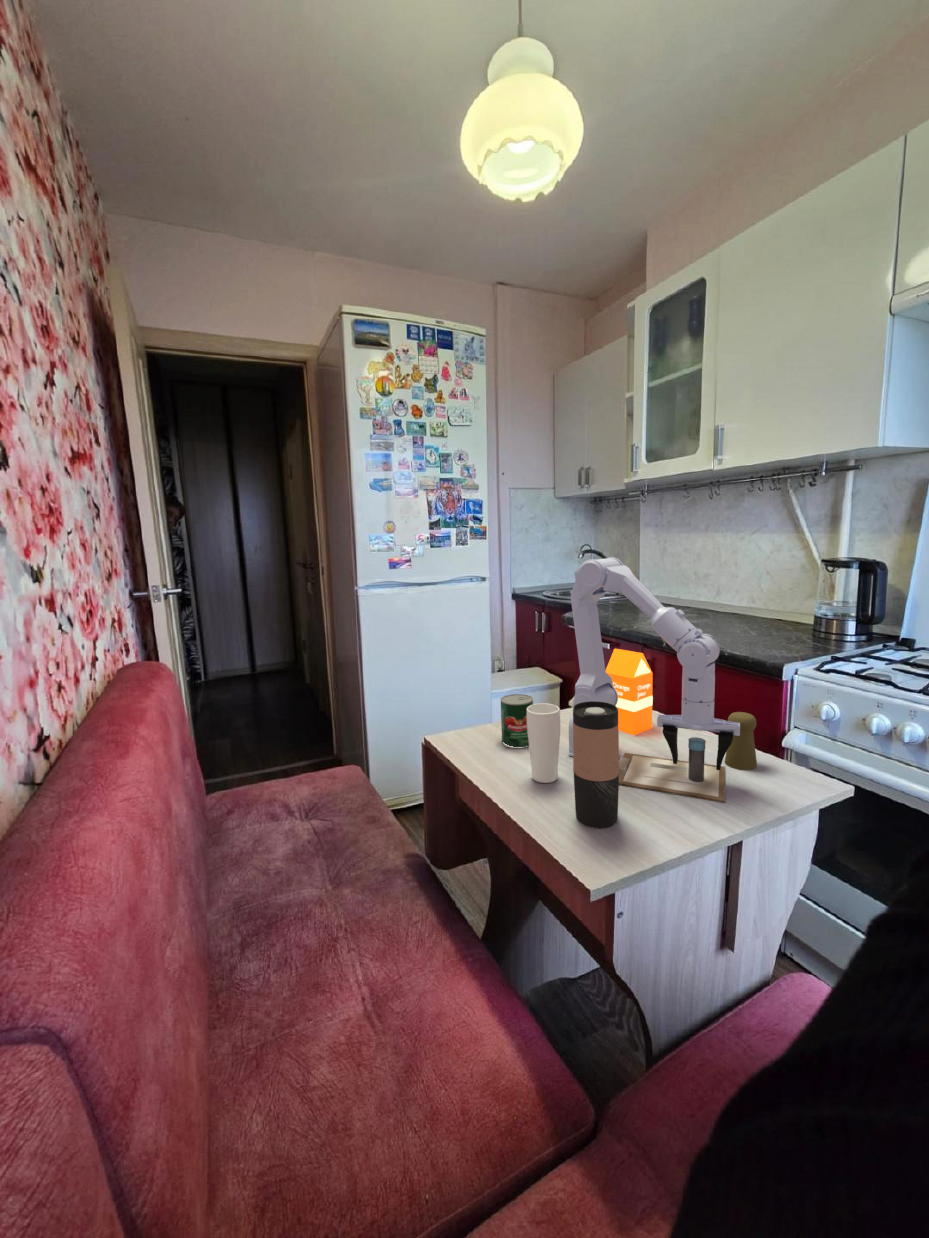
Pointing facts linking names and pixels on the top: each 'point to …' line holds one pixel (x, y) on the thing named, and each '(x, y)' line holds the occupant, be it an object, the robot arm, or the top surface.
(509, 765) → the top surface
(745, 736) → the cork
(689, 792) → the clipboard
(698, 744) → the marker
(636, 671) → the orange juice
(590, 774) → the travel mug
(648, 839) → the top surface
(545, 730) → the drinking glass
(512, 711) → the canned tomato
